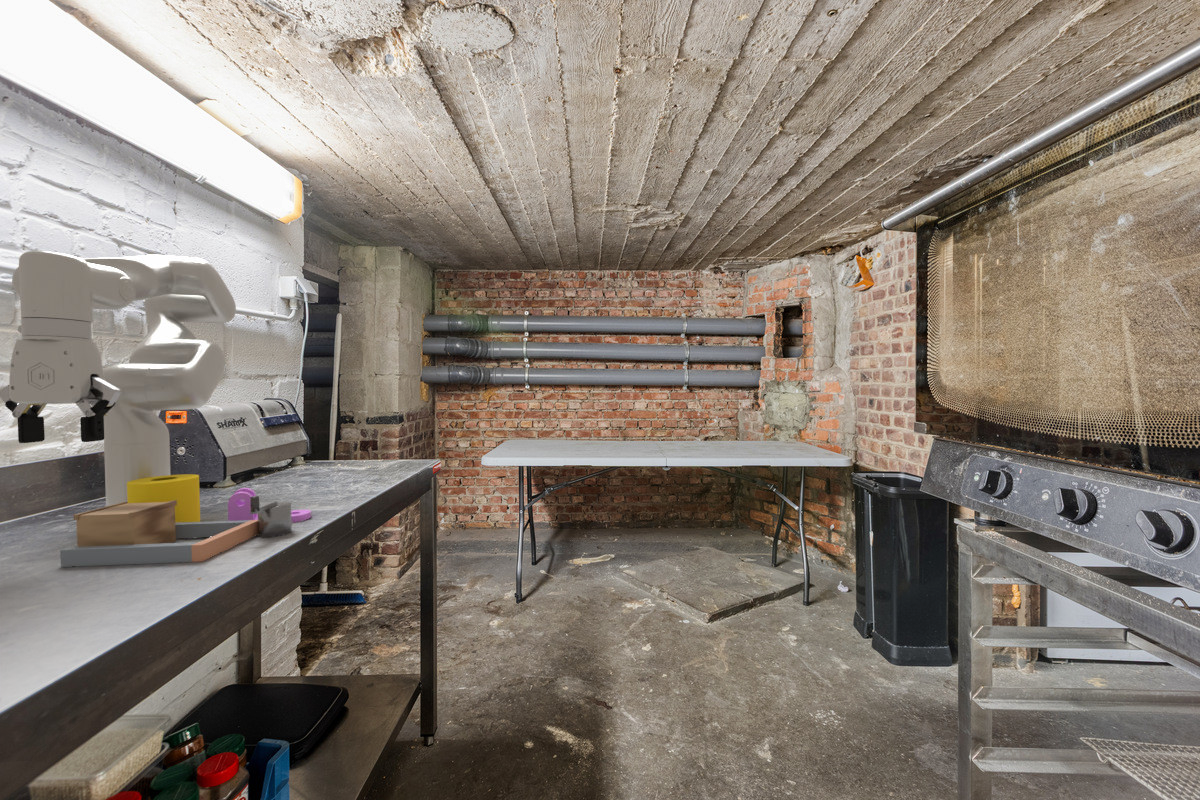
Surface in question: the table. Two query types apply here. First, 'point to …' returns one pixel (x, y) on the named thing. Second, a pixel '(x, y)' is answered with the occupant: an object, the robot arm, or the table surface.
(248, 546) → the table surface
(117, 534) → the block
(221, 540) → the bay
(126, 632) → the table surface
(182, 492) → the yellow roll
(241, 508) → the bracket
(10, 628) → the table surface
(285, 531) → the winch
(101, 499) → the table surface
